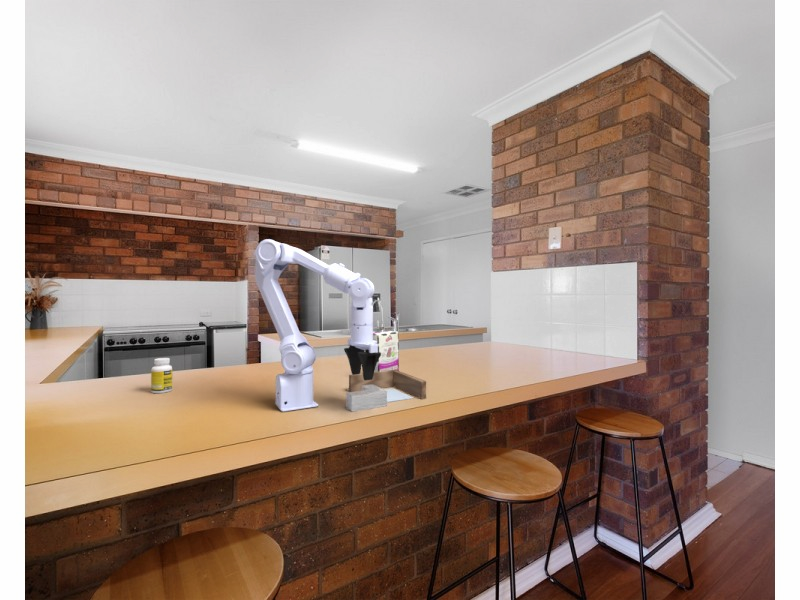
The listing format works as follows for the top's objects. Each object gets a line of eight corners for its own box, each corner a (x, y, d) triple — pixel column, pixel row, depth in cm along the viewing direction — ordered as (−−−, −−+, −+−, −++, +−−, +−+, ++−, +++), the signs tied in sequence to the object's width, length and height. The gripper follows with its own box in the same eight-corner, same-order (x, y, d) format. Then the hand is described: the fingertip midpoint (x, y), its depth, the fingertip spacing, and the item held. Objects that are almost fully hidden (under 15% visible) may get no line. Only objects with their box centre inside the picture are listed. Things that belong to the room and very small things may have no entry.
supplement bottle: (165, 393, 113) (165, 360, 113) (146, 393, 113) (146, 360, 113) (176, 389, 118) (176, 357, 118) (158, 389, 119) (158, 357, 118)
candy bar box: (388, 376, 138) (388, 330, 137) (399, 378, 135) (399, 331, 134) (367, 382, 129) (367, 333, 129) (378, 384, 126) (378, 334, 126)
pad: (385, 402, 105) (385, 402, 105) (366, 392, 115) (366, 392, 115) (413, 398, 110) (413, 397, 110) (392, 389, 120) (392, 388, 120)
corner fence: (375, 406, 101) (375, 387, 101) (348, 391, 117) (349, 374, 117) (426, 398, 109) (426, 381, 109) (395, 385, 125) (395, 369, 125)
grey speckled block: (351, 411, 97) (351, 395, 97) (339, 403, 105) (339, 388, 104) (386, 406, 102) (386, 390, 102) (372, 398, 110) (372, 384, 109)
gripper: (388, 326, 96) (388, 380, 96) (364, 322, 108) (364, 370, 109) (362, 327, 92) (362, 384, 92) (340, 323, 105) (340, 372, 105)
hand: (361, 376), depth 100 cm, fingers open, 7 cm apart
